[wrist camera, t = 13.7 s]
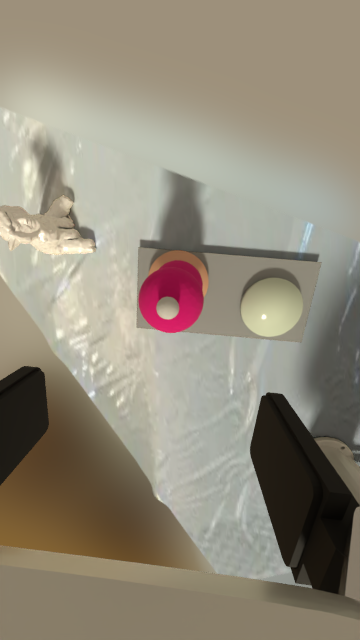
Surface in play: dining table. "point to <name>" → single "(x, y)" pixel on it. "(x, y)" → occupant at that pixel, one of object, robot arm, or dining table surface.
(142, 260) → the board
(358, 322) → the dining table surface
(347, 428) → the dining table surface
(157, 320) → the pepper mill
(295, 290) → the pale green domed disc
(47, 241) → the sitting furry creature
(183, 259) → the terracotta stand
